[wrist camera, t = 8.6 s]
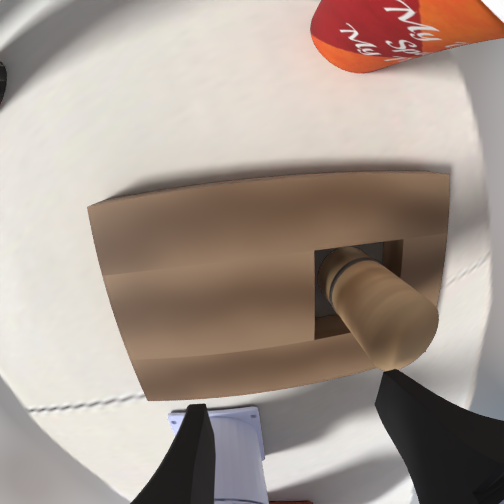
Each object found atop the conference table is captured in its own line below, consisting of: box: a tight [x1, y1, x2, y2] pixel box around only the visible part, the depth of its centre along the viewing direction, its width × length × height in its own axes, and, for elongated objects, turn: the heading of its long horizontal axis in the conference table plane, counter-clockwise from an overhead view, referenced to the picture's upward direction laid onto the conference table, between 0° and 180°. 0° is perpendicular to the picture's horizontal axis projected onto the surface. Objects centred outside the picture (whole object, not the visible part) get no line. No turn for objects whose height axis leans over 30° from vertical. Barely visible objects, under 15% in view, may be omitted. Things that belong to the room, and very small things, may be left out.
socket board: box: [87, 171, 450, 401], centre depth 18 cm, size 14×22×2 cm, turn 95°
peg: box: [318, 247, 439, 371], centre depth 15 cm, size 4×4×8 cm
